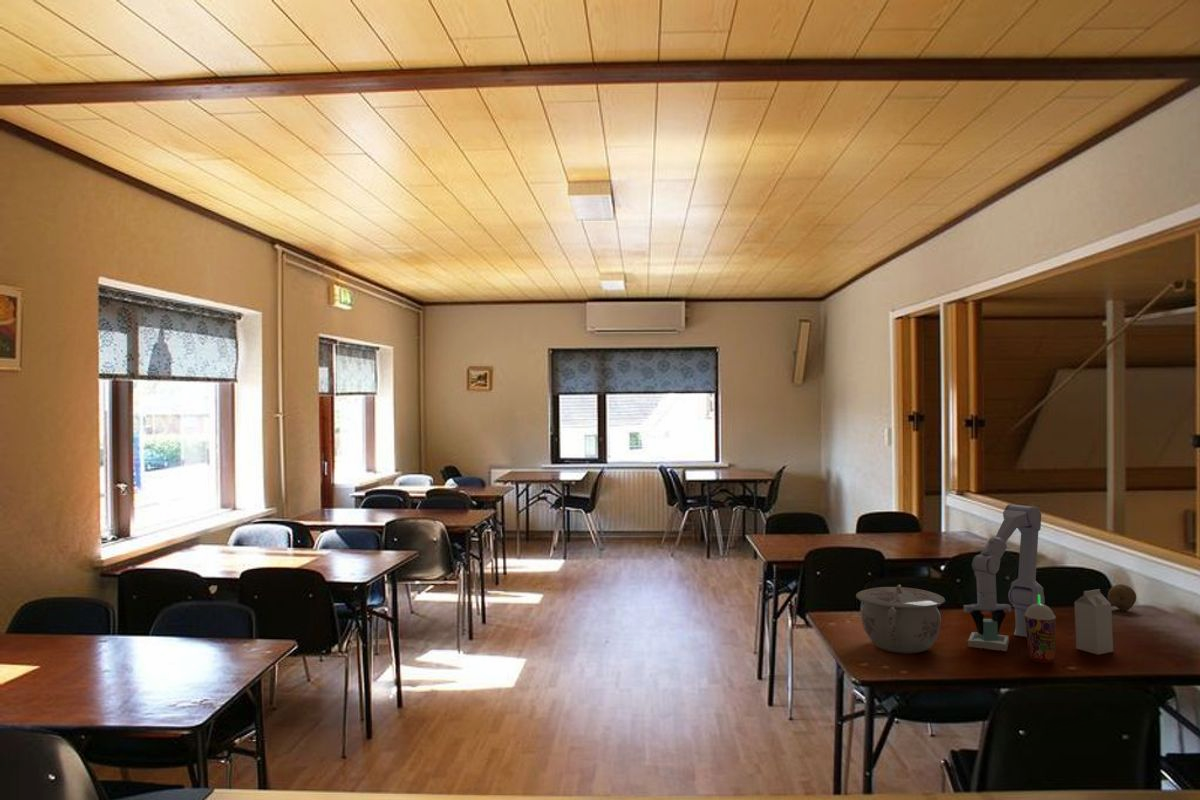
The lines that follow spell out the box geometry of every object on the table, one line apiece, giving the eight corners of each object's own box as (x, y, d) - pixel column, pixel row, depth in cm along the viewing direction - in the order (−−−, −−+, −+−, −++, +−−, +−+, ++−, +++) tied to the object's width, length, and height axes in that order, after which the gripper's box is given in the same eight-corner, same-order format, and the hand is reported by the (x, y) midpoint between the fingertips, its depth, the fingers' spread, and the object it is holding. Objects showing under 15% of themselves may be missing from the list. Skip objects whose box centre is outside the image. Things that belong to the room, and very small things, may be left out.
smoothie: (1042, 666, 231) (1039, 598, 231) (1020, 658, 239) (1017, 593, 239) (1064, 662, 233) (1061, 596, 234) (1041, 655, 241) (1038, 590, 242)
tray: (1008, 642, 255) (1008, 635, 255) (1006, 651, 246) (1006, 644, 246) (972, 638, 261) (971, 631, 261) (968, 646, 251) (968, 640, 252)
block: (991, 636, 256) (990, 618, 256) (998, 640, 251) (997, 622, 252) (978, 637, 256) (977, 619, 256) (984, 640, 251) (983, 622, 252)
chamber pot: (904, 632, 270) (901, 573, 271) (967, 653, 245) (964, 587, 245) (838, 642, 260) (836, 581, 261) (897, 666, 235) (894, 597, 235)
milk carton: (1076, 649, 246) (1073, 589, 246) (1092, 646, 248) (1089, 587, 249) (1097, 655, 239) (1094, 593, 240) (1113, 652, 242) (1110, 591, 242)
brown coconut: (1123, 614, 284) (1122, 587, 285) (1102, 609, 293) (1100, 583, 293) (1142, 612, 287) (1141, 585, 287) (1121, 607, 295) (1120, 581, 296)
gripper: (1002, 588, 258) (1004, 629, 257) (959, 589, 258) (960, 630, 258) (1013, 593, 250) (1015, 635, 250) (968, 594, 251) (970, 636, 251)
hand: (988, 633), depth 253 cm, fingers closed on block, 4 cm apart
